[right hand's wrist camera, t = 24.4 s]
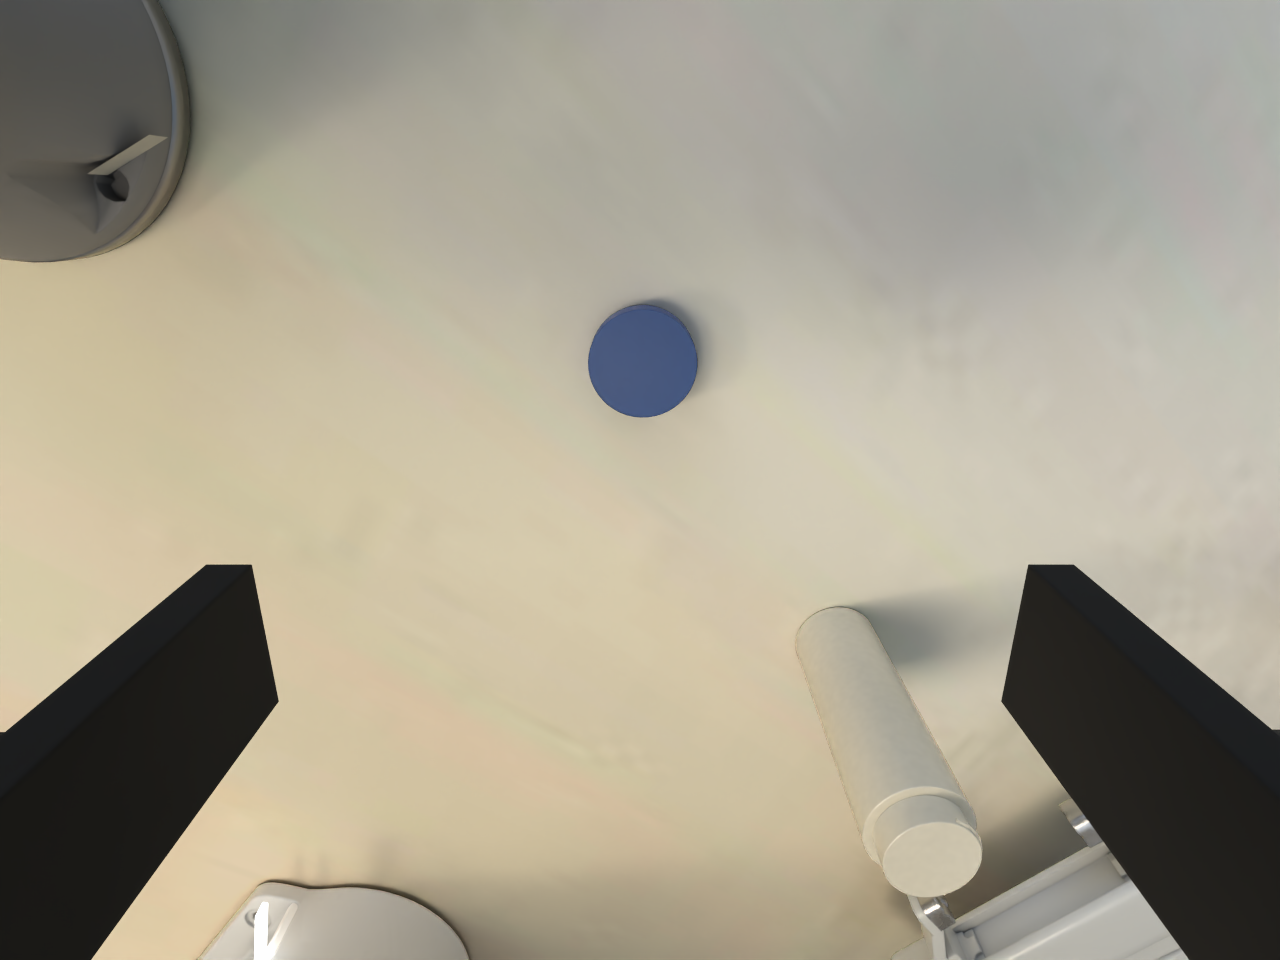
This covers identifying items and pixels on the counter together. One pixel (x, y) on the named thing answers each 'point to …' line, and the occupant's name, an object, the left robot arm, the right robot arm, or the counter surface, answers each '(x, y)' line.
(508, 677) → the counter surface
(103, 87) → the right robot arm
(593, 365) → the lid
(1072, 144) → the counter surface
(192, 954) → the counter surface
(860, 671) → the bottle
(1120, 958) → the left robot arm
